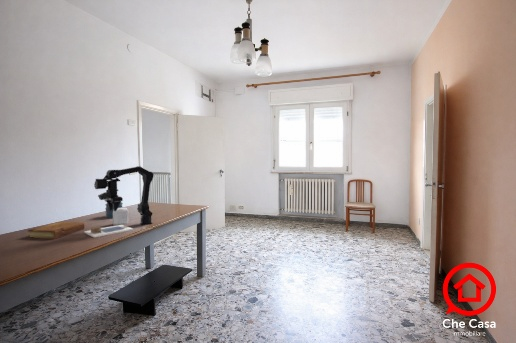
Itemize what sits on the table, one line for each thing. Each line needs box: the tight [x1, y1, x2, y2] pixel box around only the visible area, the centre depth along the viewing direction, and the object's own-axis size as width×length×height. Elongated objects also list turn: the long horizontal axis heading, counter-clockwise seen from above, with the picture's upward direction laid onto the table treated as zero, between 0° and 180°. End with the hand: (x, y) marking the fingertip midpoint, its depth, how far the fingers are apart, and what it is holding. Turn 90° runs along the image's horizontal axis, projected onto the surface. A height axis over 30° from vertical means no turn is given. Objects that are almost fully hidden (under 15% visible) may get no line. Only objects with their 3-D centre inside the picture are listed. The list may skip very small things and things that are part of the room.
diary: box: [27, 221, 85, 240], centre depth 173 cm, size 23×19×6 cm
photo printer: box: [112, 207, 129, 226], centre depth 199 cm, size 10×4×12 cm, turn 124°
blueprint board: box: [83, 224, 134, 238], centre depth 179 cm, size 24×18×4 cm
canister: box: [104, 201, 124, 219], centre depth 223 cm, size 13×13×18 cm
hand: (112, 210), depth 183 cm, fingers open, 8 cm apart
